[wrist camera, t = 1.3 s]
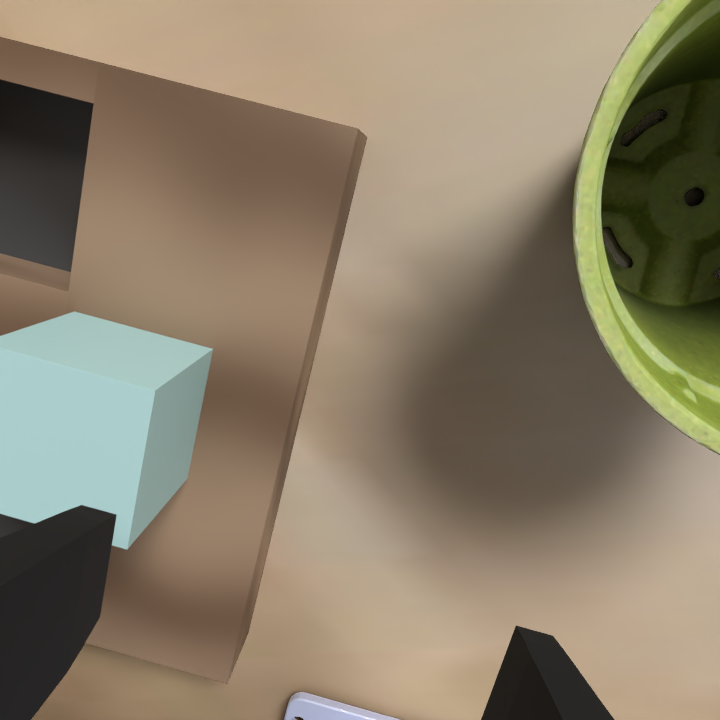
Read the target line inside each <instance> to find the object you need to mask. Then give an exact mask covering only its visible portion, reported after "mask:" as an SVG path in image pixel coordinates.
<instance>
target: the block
mask: <svg viewBox="0 0 720 720" xmlns="http://www.w3.org/2000/svg"><path fill="white" fill-rule="evenodd" d="M212 352H213V349H212V348H208V347H204V346H200V345H197V344H193V343H189V342H186V341H182V340H178V339H175V338H171V337H167V336H163V335H160V334H156V333H152V332H149V331H145V330H141V329H138V328H134V327H130V326H126V325H123V324H119V323H115V322H112V321H108V320H104V319H101V318H97V317H93V316H90V315H86V314H82V313H78V312H75V311H74V312H71V313H68V314H65V315H62V316H59V317H56V318H53V319H50V320H47V321H44V322H41V323H38V324H35V325H32V326H29V327H26V328H23V329H20V330H17V331H14V332H11V333H8V334H5V335H2V336H0V514H3V515H6V516H10V517H13V518H17V519H20V520H24V521H28V522H31V523H37V522H40V521H42V520H45V519H47V518H49V517H52V516H54V515H57V514H59V513H62V512H64V511H67V510H69V509H72V508H75V507H77V506H80V505H84V506H87V507H91V508H95V509H98V510H102V511H105V512H109V513H113V514H116V515H117V516H116V522H115V528H114V534H113V541H112V545H113V546H116V547H120V548H123V549H128V548H129V547H130V546H131V545H132V543H133V542H134V541H135V540H136V539H137V538H138V536H139V535H140V534H141V533H142V532H143V530H144V529H145V528H146V527H147V526H148V525H149V523H150V522H151V521H152V520H153V519H154V517H155V516H156V515H157V514H158V513H159V512H160V510H161V509H162V508H163V507H164V506H165V504H166V503H167V502H168V501H169V500H170V499H171V497H172V496H173V495H174V494H175V493H176V491H177V490H178V489H179V488H180V487H181V486H182V484H183V483H184V482H185V481H186V480H187V478H188V473H189V468H190V463H191V458H192V453H193V448H194V443H195V438H196V433H197V428H198V423H199V418H200V413H201V407H202V402H203V397H204V392H205V387H206V382H207V377H208V372H209V367H210V362H211V357H212Z"/></svg>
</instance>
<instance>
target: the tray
mask: <svg viewBox="0 0 720 720" xmlns="http://www.w3.org/2000/svg"><path fill="white" fill-rule="evenodd" d="M366 140H367V137H366V136H365V135H364V134H363V133H362V132H361V131H360V130H359V129H357V128H353V127H349V126H345V125H342V124H338V123H334V122H330V121H326V120H322V119H318V118H314V117H310V116H306V115H303V114H299V113H295V112H291V111H287V110H283V109H279V108H275V107H271V106H267V105H264V104H260V103H256V102H252V101H248V100H244V99H240V98H236V97H232V96H229V95H225V94H221V93H217V92H213V91H209V90H205V89H201V88H197V87H193V86H190V85H186V84H182V83H178V82H174V81H170V80H166V79H162V78H158V77H155V76H151V75H147V74H143V73H139V72H135V71H131V70H127V69H123V68H119V67H116V66H112V65H108V64H104V63H100V62H96V61H92V60H88V59H84V58H80V57H77V56H73V55H69V54H65V53H61V52H57V51H53V50H49V49H45V48H42V47H38V46H34V45H30V44H26V43H22V42H18V41H14V40H10V39H6V38H3V37H0V336H2V335H5V334H8V333H11V332H14V331H17V330H20V329H23V328H26V327H29V326H32V325H35V324H38V323H41V322H44V321H47V320H50V319H53V318H56V317H59V316H62V315H65V314H68V313H71V312H74V311H75V312H78V313H82V314H86V315H90V316H93V317H97V318H101V319H104V320H108V321H112V322H115V323H119V324H123V325H126V326H130V327H134V328H138V329H141V330H145V331H149V332H152V333H156V334H160V335H163V336H167V337H171V338H175V339H178V340H182V341H186V342H189V343H193V344H197V345H200V346H204V347H208V348H212V349H213V352H212V357H211V362H210V367H209V372H208V377H207V382H206V387H205V392H204V397H203V402H202V407H201V413H200V418H199V423H198V428H197V433H196V438H195V443H194V448H193V453H192V458H191V463H190V468H189V473H188V478H187V480H186V481H185V482H184V483H183V484H182V486H181V487H180V488H179V489H178V490H177V491H176V493H175V494H174V495H173V496H172V497H171V499H170V500H169V501H168V502H167V503H166V504H165V506H164V507H163V508H162V509H161V510H160V512H159V513H158V514H157V515H156V516H155V517H154V519H153V520H152V521H151V522H150V523H149V525H148V526H147V527H146V528H145V529H144V530H143V532H142V533H141V534H140V535H139V536H138V538H137V539H136V540H135V541H134V542H133V543H132V545H131V546H130V547H129V548H128V549H123V548H120V547H116V546H113V545H112V547H111V553H110V559H109V565H108V571H107V577H106V584H105V590H104V596H103V602H102V608H101V614H100V618H99V620H98V622H97V623H96V625H95V627H94V628H93V630H92V632H91V634H90V635H89V637H88V639H87V640H86V642H85V643H87V644H91V645H94V646H97V647H101V648H104V649H108V650H111V651H115V652H118V653H122V654H125V655H129V656H132V657H136V658H139V659H143V660H146V661H150V662H153V663H156V664H160V665H163V666H167V667H170V668H174V669H177V670H181V671H184V672H188V673H191V674H195V675H198V676H202V677H205V678H209V679H212V680H215V681H219V682H222V683H226V684H227V683H228V681H229V678H230V676H231V674H232V671H233V669H234V666H235V664H236V661H237V659H238V656H239V654H240V652H241V649H242V647H243V644H244V642H245V639H246V637H247V635H248V631H249V627H250V623H251V619H252V615H253V610H254V606H255V602H256V598H257V594H258V590H259V586H260V581H261V577H262V573H263V569H264V565H265V561H266V556H267V552H268V548H269V544H270V540H271V536H272V531H273V527H274V523H275V519H276V515H277V511H278V506H279V502H280V498H281V494H282V490H283V486H284V481H285V477H286V473H287V469H288V465H289V461H290V456H291V452H292V448H293V444H294V440H295V436H296V431H297V427H298V423H299V419H300V415H301V411H302V406H303V402H304V398H305V394H306V390H307V386H308V381H309V377H310V373H311V369H312V365H313V361H314V356H315V352H316V348H317V344H318V340H319V336H320V331H321V327H322V323H323V319H324V315H325V311H326V306H327V302H328V298H329V294H330V290H331V286H332V281H333V277H334V273H335V269H336V265H337V261H338V256H339V252H340V248H341V244H342V240H343V236H344V231H345V227H346V223H347V219H348V215H349V211H350V206H351V202H352V198H353V194H354V190H355V186H356V181H357V177H358V173H359V169H360V165H361V161H362V156H363V152H364V148H365V144H366ZM33 524H35V523H31V522H28V521H24V520H20V519H17V518H13V517H10V516H6V515H3V514H0V538H1V537H4V536H6V535H9V534H11V533H14V532H16V531H18V530H21V529H23V528H26V527H28V526H30V525H33Z"/></svg>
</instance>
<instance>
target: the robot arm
mask: <svg viewBox="0 0 720 720" xmlns="http://www.w3.org/2000/svg"><path fill="white" fill-rule="evenodd" d="M116 516H117V515H116V514H113V513H109V512H105V511H102V510H98V509H95V508H91V507H87V506H84V505H80V506H77V507H75V508H72V509H69V510H67V511H64V512H62V513H59V514H57V515H54V516H52V517H49V518H47V519H45V520H42V521H40V522H37V523H35V524H33V525H30V526H28V527H26V528H23V529H21V530H18V531H16V532H14V533H11V534H9V535H6V536H4V537H1V538H0V720H31V719H32V717H33V716H34V715H35V714H36V712H37V711H38V710H39V708H40V707H41V706H42V704H43V703H44V702H45V701H46V699H47V698H48V697H49V695H50V694H51V693H52V691H53V690H54V689H55V688H56V686H57V685H58V684H59V682H60V681H61V680H62V678H63V677H64V676H65V674H66V673H67V672H68V670H69V668H70V667H71V665H72V663H73V662H74V660H75V659H76V657H77V655H78V654H79V652H80V650H81V649H82V647H83V646H84V644H85V642H86V640H87V639H88V637H89V635H90V634H91V632H92V630H93V628H94V627H95V625H96V623H97V622H98V620H99V618H100V614H101V608H102V602H103V596H104V590H105V584H106V577H107V571H108V565H109V559H110V553H111V547H112V541H113V534H114V528H115V522H116ZM294 717H301V718H303V719H304V720H400V719H396V718H393V717H389V716H386V715H382V714H379V713H375V712H372V711H368V710H365V709H361V708H358V707H354V706H351V705H347V704H344V703H340V702H337V701H333V700H330V699H326V698H323V697H320V696H316V695H313V694H309V693H305V692H298V693H295V694H294V695H292V696H291V698H290V700H289V703H288V707H287V710H286V714H285V718H284V720H297V719H295V718H294ZM481 720H614V719H613V717H612V716H611V715H610V713H609V712H608V710H607V709H606V708H605V706H604V705H603V704H602V702H601V701H600V700H599V698H598V697H597V695H596V694H595V693H594V691H593V690H592V688H591V687H590V686H589V684H588V683H587V681H586V680H585V679H584V677H583V676H582V674H581V673H580V672H579V670H578V669H577V668H576V666H575V665H574V663H573V662H572V661H571V659H570V658H569V656H568V655H567V654H566V652H565V651H564V650H563V648H562V647H561V646H560V644H559V643H558V642H557V641H556V639H555V638H554V637H553V636H551V635H548V634H544V633H541V632H537V631H533V630H530V629H526V628H523V627H519V626H516V627H515V630H514V633H513V635H512V638H511V641H510V643H509V646H508V649H507V651H506V654H505V657H504V660H503V662H502V665H501V668H500V670H499V673H498V676H497V678H496V681H495V684H494V687H493V689H492V692H491V695H490V697H489V700H488V703H487V705H486V708H485V711H484V714H483V716H482V719H481Z"/></svg>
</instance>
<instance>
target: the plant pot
mask: <svg viewBox="0 0 720 720" xmlns="http://www.w3.org/2000/svg"><path fill="white" fill-rule="evenodd" d="M658 109H663V110H664V111H666V112H667V116H666V118H665V119H664V120H663V121H661V122H658V123H656V124H655V125H654V126H652V127H651V128H649V129H647V130H646V131H644V132H643V133H642V134H641V135H640V136H638V137H637V138H636V139H635V140H633V142H632V143H631V144H630V145H629V146H627V147H626V146H622V145H621V143H622V141H621V138H622V136H623V135H624V134H625V133H626V132H628V131H629V130H631V129H632V128H633V127H635V126H637V124H638V123H639V122H640V120H641V119H642V118H643V116H644V115H646V114H648V113H650V112H653V111H656V110H658ZM694 187H697V188H701V189H702V190H703V192H704V199H703V201H702V202H701V203H700V204H698V205H696V206H691V207H690V206H689V205H688V204H686V202H685V194H686V192H687V191H689V190H691V189H692V188H694ZM604 227H610V228H611V230H612V232H613V235H614V236H615V238H616V241H617V242H618V244H619V245H620V247H621V249H622V250H623V251H624V252H625V254H627V255H628V256H629V257H630V258H631V259H632V261H633V265H632V267H630V268H624V267H622V266H620V265H618V264H616V262H615V261H614V260H613V257H612V255H611V254H610V252H609V251H608V250H607V248H606V247H605V245H604V241H603V234H602V229H603V228H604ZM572 229H573V249H574V257H575V263H576V269H577V275H578V280H579V284H580V287H581V291H582V295H583V299H584V302H585V305H586V307H587V310H588V313H589V315H590V318H591V321H592V323H593V325H594V327H595V330H596V332H597V334H598V336H599V338H600V340H601V342H602V344H603V346H604V347H605V349H606V351H607V353H608V355H609V356H610V358H611V359H612V361H613V362H614V363H615V365H616V366H617V368H618V369H619V371H620V372H621V374H622V375H623V376H624V378H625V379H626V380H627V382H628V383H629V384H630V385H631V386H632V387H633V389H634V390H635V391H636V392H637V393H638V394H639V395H640V396H641V398H642V399H643V400H644V401H645V402H646V403H647V404H648V405H649V406H650V407H651V408H652V409H653V410H655V411H656V412H657V413H658V414H659V415H660V416H662V417H663V418H664V419H665V420H666V421H668V422H669V423H670V424H671V425H673V426H674V427H675V428H677V429H678V430H679V431H681V432H682V433H683V434H685V435H686V436H688V437H690V438H691V439H693V440H694V441H696V442H697V443H699V444H700V445H703V446H704V447H706V448H708V449H709V450H711V451H713V452H715V453H717V454H719V455H720V279H716V278H715V277H714V276H713V274H714V272H715V271H717V270H719V269H720V0H661V1H660V3H659V4H658V5H657V6H656V7H655V9H654V10H653V11H652V12H651V14H650V15H649V16H648V18H647V19H646V20H645V22H644V23H643V24H642V25H641V27H640V28H639V29H638V31H637V32H636V33H635V35H634V36H633V38H632V39H631V41H630V42H629V44H628V46H627V47H626V49H625V50H624V52H623V53H622V55H621V57H620V59H619V61H618V63H617V64H616V66H615V68H614V70H613V72H612V74H611V75H610V77H609V79H608V81H607V83H606V85H605V86H604V88H603V91H602V93H601V95H600V98H599V100H598V103H597V105H596V108H595V110H594V112H593V115H592V118H591V121H590V124H589V126H588V129H587V132H586V135H585V138H584V142H583V146H582V150H581V154H580V158H579V163H578V169H577V174H576V179H575V186H574V197H573V214H572Z"/></svg>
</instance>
